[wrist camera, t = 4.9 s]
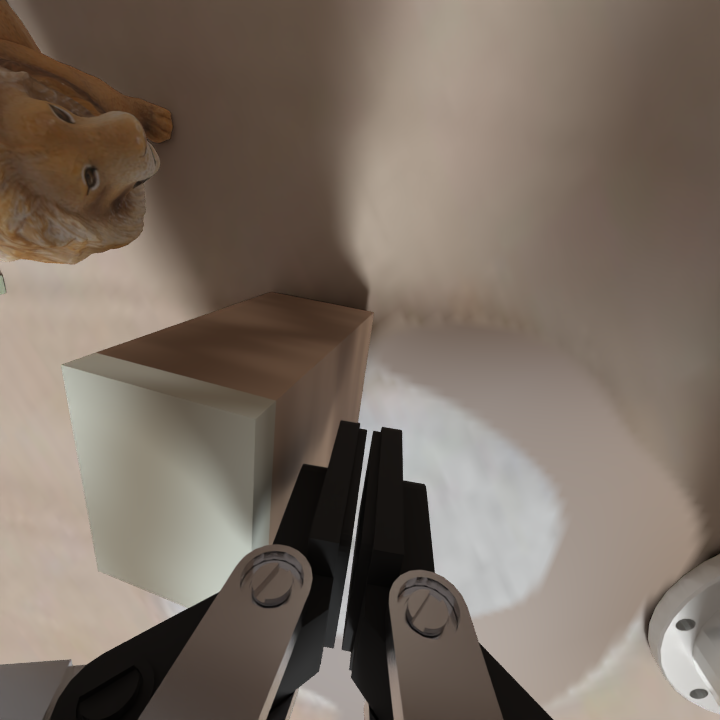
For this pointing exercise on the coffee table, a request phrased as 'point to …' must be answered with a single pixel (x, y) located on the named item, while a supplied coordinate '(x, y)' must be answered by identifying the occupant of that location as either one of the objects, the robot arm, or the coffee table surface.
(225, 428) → the walnut block
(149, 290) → the coffee table surface
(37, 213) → the lion figurine
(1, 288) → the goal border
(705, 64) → the coffee table surface
